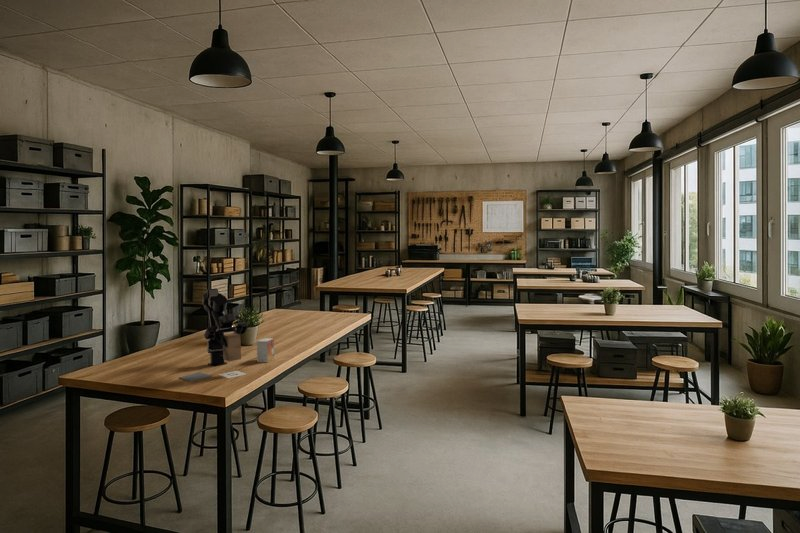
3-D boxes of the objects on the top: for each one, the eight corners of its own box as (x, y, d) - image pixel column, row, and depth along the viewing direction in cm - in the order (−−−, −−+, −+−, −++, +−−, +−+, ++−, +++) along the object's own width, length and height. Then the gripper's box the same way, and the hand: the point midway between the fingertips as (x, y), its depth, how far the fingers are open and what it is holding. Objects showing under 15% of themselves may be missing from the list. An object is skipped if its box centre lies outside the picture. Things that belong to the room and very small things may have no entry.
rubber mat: (178, 378, 226) (178, 377, 226) (199, 373, 234) (199, 372, 234) (192, 382, 220) (192, 380, 220) (212, 376, 228) (212, 375, 228)
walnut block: (223, 359, 231) (222, 334, 231) (235, 357, 235) (234, 333, 234) (229, 361, 227) (228, 336, 227) (241, 359, 231) (240, 334, 231)
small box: (267, 362, 253) (267, 341, 253) (257, 362, 254) (256, 341, 254) (274, 358, 261) (274, 338, 260) (264, 358, 262) (263, 337, 262)
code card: (218, 374, 232) (218, 374, 232) (237, 371, 238) (237, 370, 238) (227, 378, 225) (227, 378, 225) (246, 374, 232) (246, 374, 232)
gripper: (206, 309, 226) (218, 337, 219) (245, 304, 239) (258, 331, 232) (199, 325, 232) (210, 353, 225) (237, 319, 245) (250, 346, 238)
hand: (233, 345), depth 230 cm, fingers closed on walnut block, 6 cm apart
